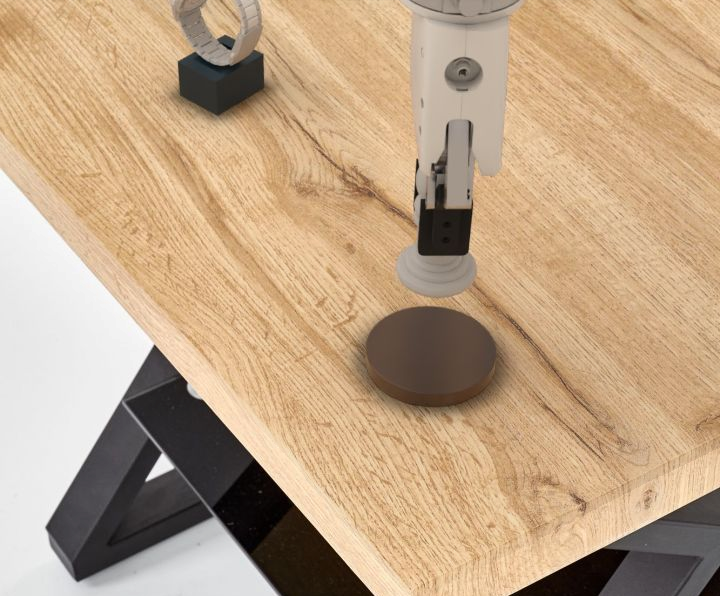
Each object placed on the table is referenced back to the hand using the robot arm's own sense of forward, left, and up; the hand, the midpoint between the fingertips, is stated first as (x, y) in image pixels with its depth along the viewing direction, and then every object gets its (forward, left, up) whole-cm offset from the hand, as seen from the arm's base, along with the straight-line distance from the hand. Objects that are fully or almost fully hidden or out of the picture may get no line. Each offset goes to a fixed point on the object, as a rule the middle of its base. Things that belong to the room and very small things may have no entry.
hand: (440, 230), depth 100 cm
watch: (+15, -33, -11) cm, 38 cm away
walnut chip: (0, 0, -11) cm, 11 cm away
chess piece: (0, 0, -4) cm, 4 cm away
